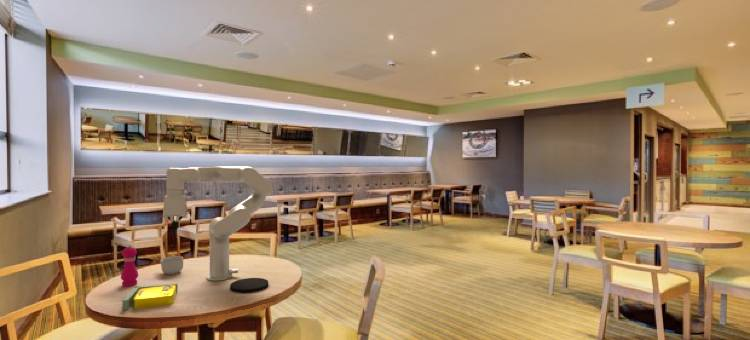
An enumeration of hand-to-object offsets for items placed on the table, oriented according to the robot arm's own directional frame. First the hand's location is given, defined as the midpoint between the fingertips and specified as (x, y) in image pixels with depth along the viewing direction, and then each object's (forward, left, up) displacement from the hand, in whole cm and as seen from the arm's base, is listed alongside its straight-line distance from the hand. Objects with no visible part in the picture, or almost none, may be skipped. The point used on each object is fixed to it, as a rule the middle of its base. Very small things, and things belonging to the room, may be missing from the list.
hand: (175, 229), depth 187 cm
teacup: (+6, -22, -27) cm, 36 cm away
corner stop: (+6, +21, -27) cm, 35 cm away
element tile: (+4, +22, -28) cm, 36 cm away
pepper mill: (+21, -5, -27) cm, 35 cm away
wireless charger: (-35, +15, -28) cm, 47 cm away
